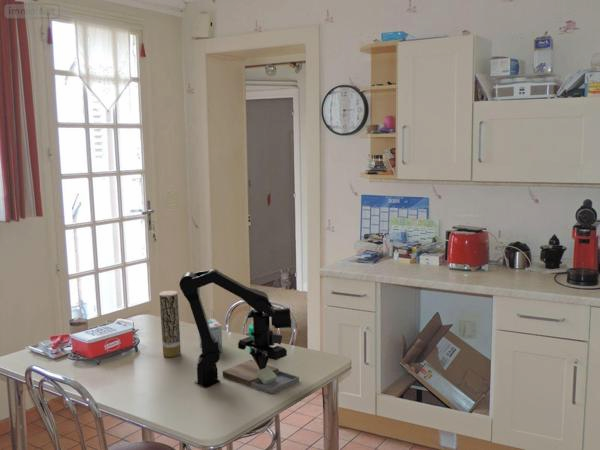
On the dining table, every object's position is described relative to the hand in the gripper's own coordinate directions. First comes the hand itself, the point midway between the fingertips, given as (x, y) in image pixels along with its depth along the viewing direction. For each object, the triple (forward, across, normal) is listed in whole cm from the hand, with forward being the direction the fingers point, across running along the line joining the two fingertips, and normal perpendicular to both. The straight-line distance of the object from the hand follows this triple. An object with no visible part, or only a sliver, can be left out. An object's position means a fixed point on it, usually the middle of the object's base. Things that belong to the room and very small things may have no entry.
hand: (262, 371), depth 219 cm
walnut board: (+3, +6, 0) cm, 7 cm away
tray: (+3, -6, 0) cm, 7 cm away
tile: (+1, -2, +1) cm, 3 cm away
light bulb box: (+4, +38, -9) cm, 39 cm away
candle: (+4, +21, -18) cm, 28 cm away
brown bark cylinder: (+4, +45, +5) cm, 46 cm away
